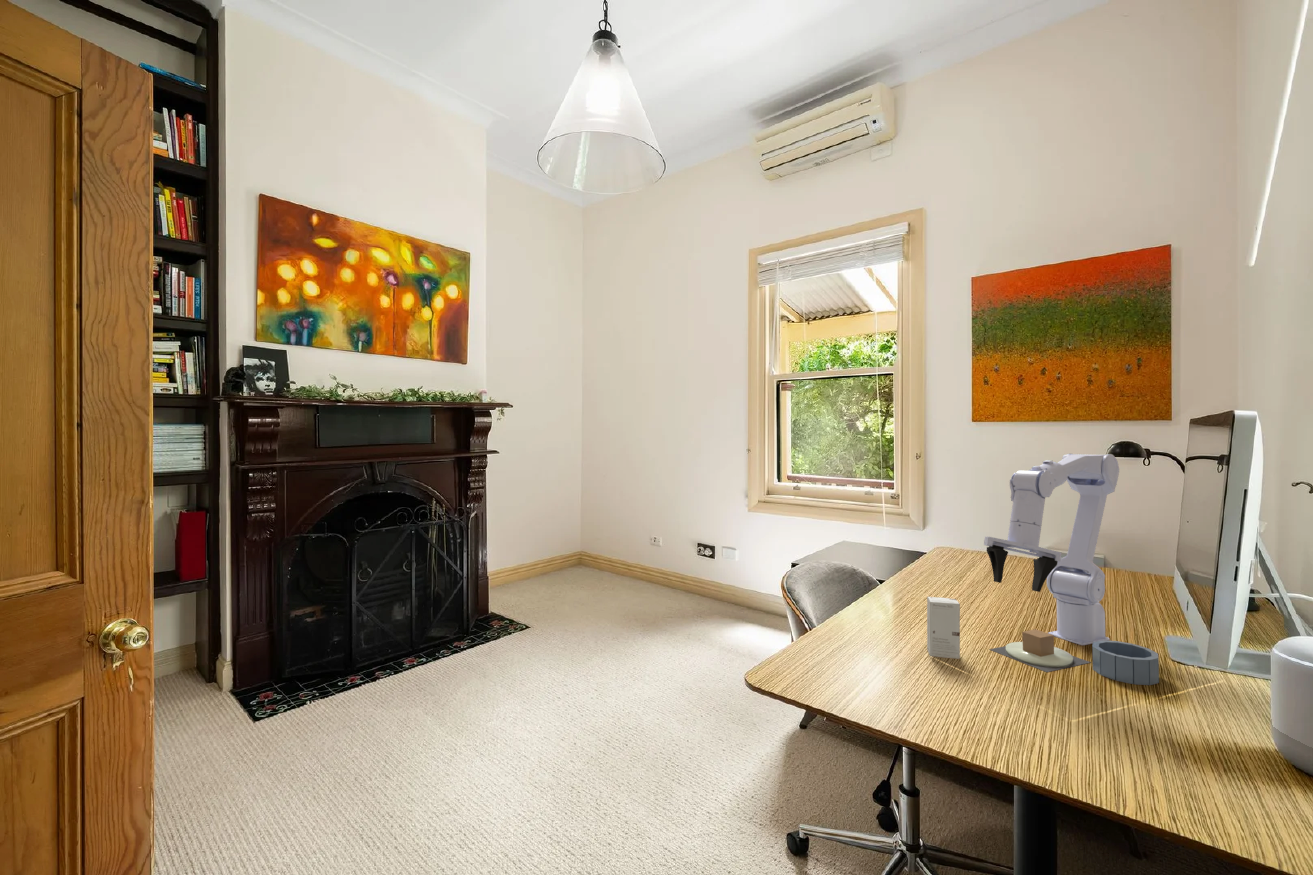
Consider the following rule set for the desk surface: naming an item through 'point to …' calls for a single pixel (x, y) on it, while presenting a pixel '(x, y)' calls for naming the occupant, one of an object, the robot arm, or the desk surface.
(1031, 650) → the lid
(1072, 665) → the mat
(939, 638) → the skincare box
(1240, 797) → the desk surface
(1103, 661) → the bowl
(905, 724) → the desk surface
